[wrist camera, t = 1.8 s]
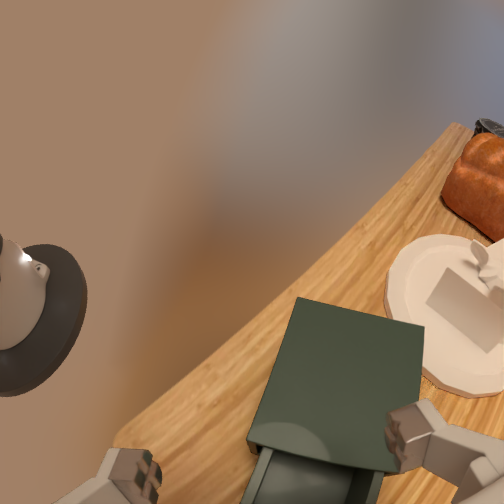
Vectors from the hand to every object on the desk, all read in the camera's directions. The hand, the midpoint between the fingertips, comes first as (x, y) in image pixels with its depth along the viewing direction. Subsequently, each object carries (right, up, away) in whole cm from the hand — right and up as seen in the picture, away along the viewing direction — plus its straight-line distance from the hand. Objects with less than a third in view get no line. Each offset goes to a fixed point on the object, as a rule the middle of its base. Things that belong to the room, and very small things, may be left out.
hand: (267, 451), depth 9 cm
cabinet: (+7, -9, +18) cm, 21 cm away
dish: (+28, -1, +25) cm, 37 cm away
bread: (+45, +11, +35) cm, 58 cm away
